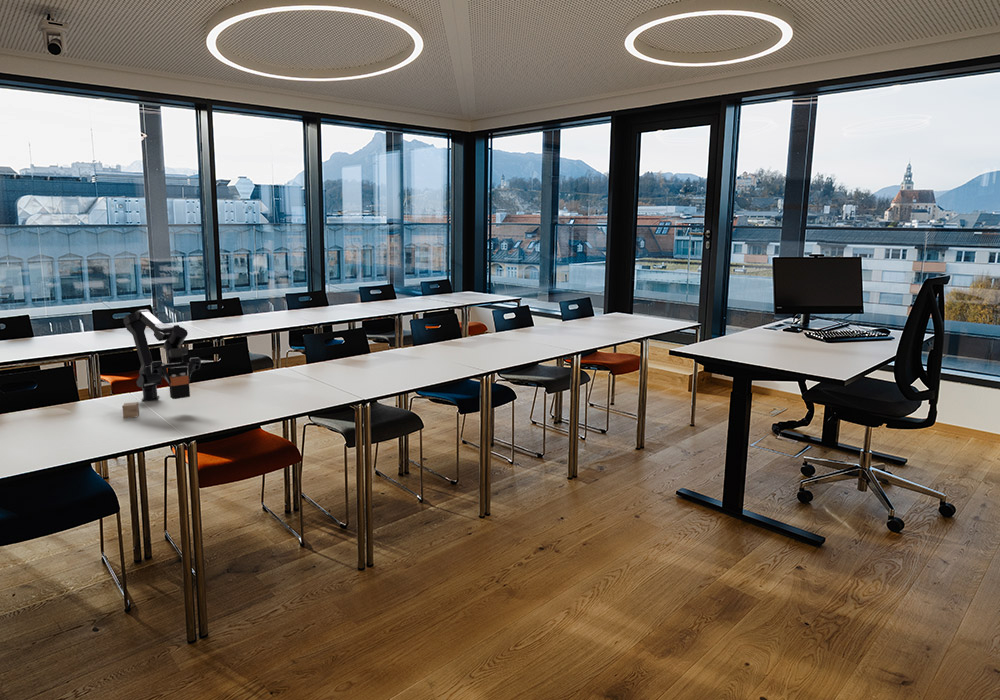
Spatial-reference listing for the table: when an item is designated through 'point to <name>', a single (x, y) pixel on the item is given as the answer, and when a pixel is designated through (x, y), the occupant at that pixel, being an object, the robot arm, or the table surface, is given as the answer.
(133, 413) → the beige cube
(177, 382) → the battery
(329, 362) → the table surface
